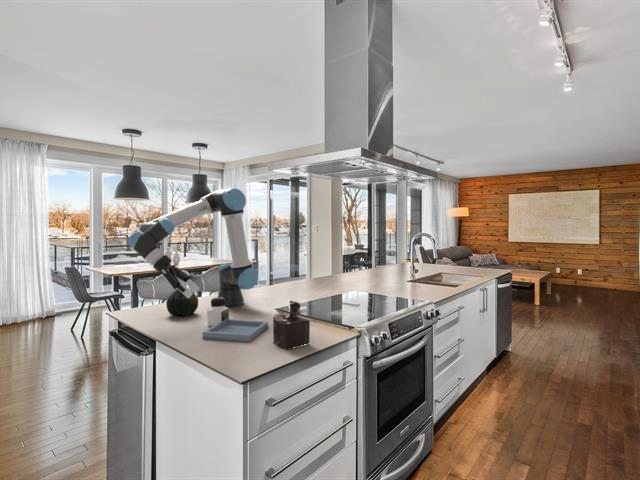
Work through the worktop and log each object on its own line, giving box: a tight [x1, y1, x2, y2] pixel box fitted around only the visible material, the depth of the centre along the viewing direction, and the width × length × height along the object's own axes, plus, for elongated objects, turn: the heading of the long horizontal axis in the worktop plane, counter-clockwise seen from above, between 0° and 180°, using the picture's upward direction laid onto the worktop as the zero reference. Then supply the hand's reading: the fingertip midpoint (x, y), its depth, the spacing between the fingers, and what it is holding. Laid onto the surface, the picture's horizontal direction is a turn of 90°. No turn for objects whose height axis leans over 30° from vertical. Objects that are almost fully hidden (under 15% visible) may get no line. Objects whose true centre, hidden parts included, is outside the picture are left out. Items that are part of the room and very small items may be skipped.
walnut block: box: [272, 313, 288, 320], centre depth 162 cm, size 6×6×5 cm
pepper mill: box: [272, 300, 311, 350], centre depth 136 cm, size 16×11×18 cm
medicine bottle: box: [206, 297, 230, 327], centre depth 165 cm, size 7×7×12 cm
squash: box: [165, 286, 199, 318], centre depth 183 cm, size 14×15×15 cm
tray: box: [202, 318, 269, 343], centre depth 152 cm, size 20×20×3 cm
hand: (194, 293), depth 163 cm, fingers open, 13 cm apart
